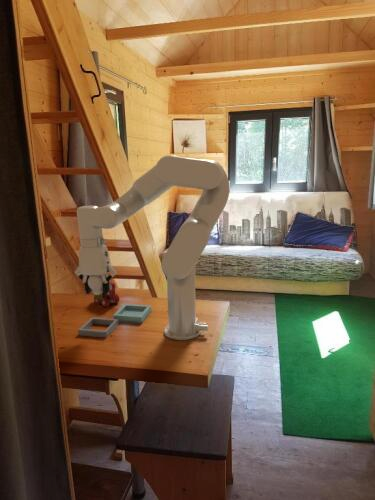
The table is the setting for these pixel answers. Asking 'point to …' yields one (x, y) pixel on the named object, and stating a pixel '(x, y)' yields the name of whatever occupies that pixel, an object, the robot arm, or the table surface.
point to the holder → (98, 333)
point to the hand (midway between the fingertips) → (97, 292)
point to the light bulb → (96, 286)
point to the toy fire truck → (108, 297)
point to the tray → (132, 313)
